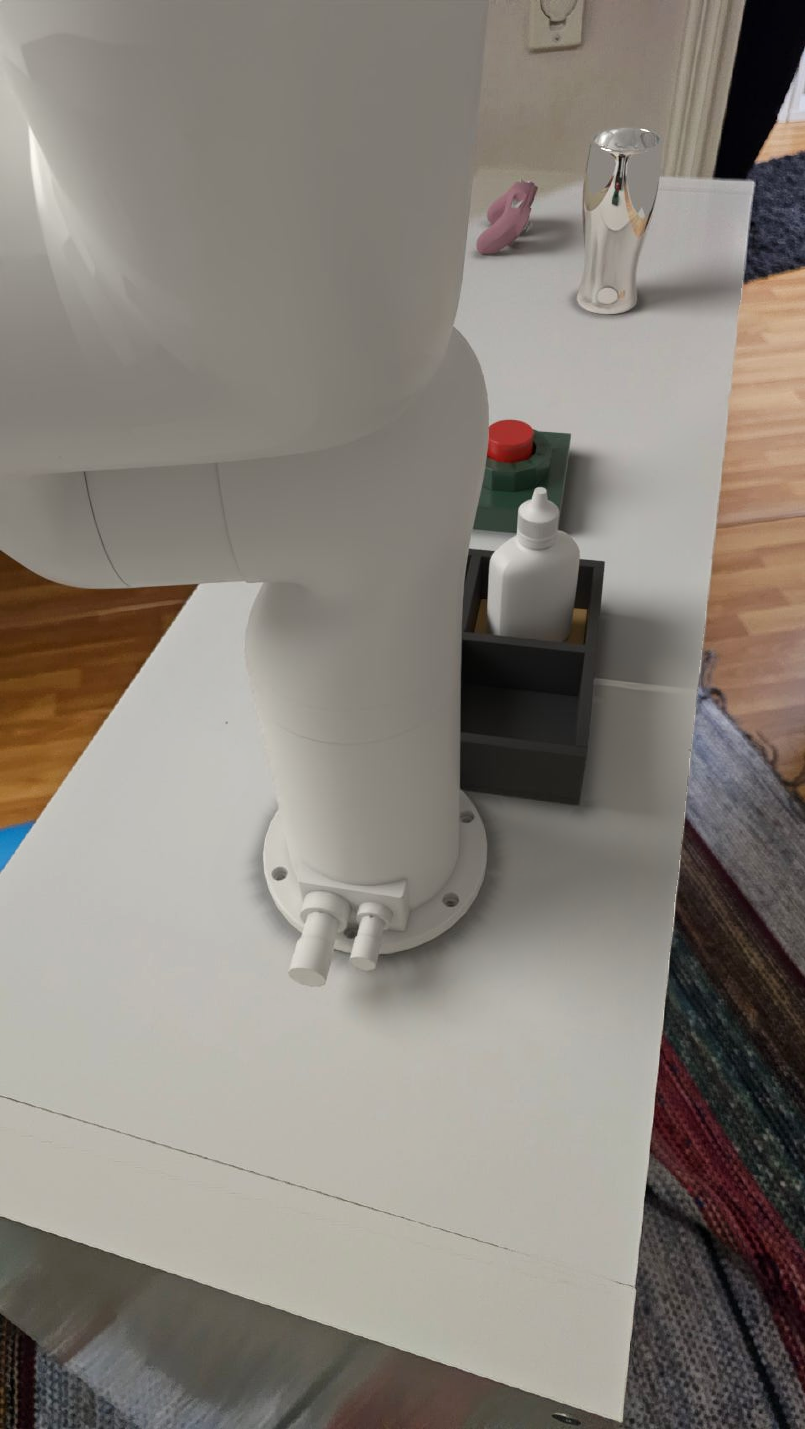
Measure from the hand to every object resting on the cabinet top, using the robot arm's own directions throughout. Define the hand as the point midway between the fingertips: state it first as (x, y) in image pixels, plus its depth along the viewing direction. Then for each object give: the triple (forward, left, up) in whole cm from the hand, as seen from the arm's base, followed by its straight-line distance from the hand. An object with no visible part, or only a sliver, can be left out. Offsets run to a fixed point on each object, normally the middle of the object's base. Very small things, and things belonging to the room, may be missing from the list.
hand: (335, 151), depth 55 cm
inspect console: (+6, -10, -27) cm, 29 cm away
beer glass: (+40, -16, -27) cm, 51 cm away
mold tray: (-16, -10, -27) cm, 33 cm away
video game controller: (+54, -4, -27) cm, 60 cm away
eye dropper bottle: (-12, -14, -26) cm, 32 cm away
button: (+6, -10, -23) cm, 26 cm away
